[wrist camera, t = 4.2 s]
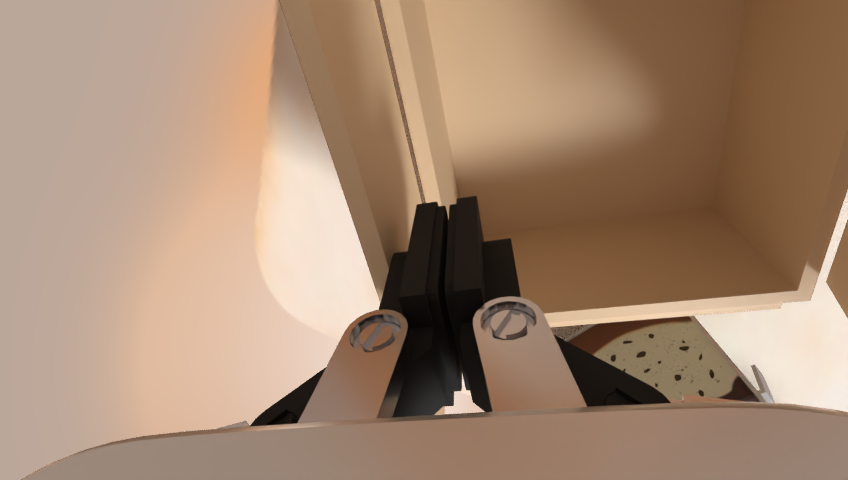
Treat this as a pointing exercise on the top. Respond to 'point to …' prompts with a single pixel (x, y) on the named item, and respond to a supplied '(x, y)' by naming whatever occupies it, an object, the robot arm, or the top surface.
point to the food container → (671, 358)
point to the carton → (635, 144)
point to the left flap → (359, 121)
